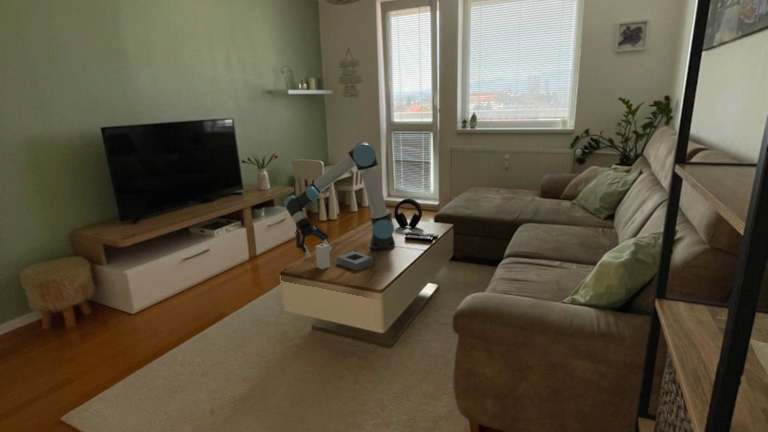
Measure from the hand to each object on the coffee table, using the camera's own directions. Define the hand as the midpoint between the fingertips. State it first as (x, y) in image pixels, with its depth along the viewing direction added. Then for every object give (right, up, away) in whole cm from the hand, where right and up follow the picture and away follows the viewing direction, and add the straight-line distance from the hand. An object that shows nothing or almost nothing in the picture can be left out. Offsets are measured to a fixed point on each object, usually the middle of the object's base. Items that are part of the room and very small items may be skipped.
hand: (320, 253), depth 226 cm
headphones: (+51, +12, +70) cm, 87 cm away
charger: (+2, -7, +1) cm, 8 cm away
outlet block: (+18, -6, +4) cm, 20 cm away
